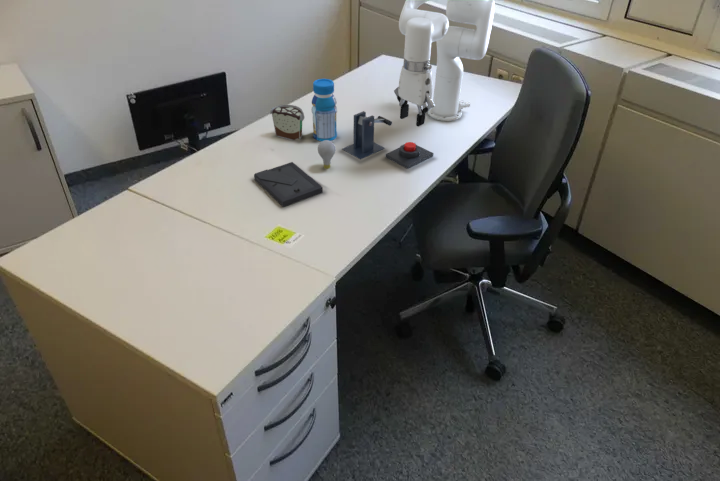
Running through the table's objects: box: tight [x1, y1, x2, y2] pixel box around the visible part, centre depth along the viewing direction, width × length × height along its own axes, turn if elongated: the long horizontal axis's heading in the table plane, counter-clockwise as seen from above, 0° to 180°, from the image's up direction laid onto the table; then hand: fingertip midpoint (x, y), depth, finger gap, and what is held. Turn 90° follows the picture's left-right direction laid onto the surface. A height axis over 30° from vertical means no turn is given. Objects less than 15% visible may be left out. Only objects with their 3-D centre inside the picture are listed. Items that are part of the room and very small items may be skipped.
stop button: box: [404, 141, 417, 152], centre depth 173 cm, size 4×4×2 cm
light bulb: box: [317, 140, 337, 170], centre depth 167 cm, size 5×5×10 cm
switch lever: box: [358, 115, 393, 127], centre depth 176 cm, size 12×6×2 cm, turn 134°
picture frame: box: [253, 161, 324, 208], centre depth 162 cm, size 13×2×18 cm
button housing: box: [384, 143, 434, 170], centre depth 175 cm, size 12×10×4 cm
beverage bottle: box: [311, 78, 338, 142], centre depth 181 cm, size 8×8×20 cm
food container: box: [269, 104, 305, 141], centre depth 185 cm, size 12×6×10 cm, turn 65°
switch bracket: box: [341, 110, 385, 160], centre depth 176 cm, size 11×9×13 cm
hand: (412, 120), depth 168 cm, fingers open, 6 cm apart
